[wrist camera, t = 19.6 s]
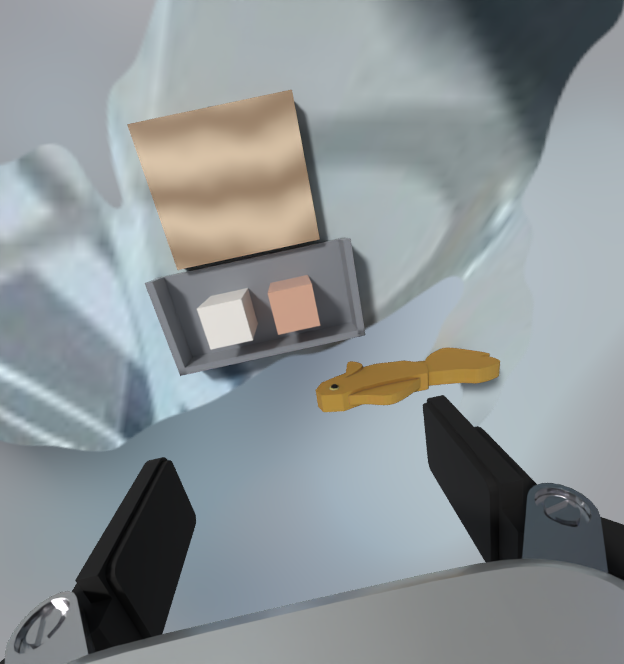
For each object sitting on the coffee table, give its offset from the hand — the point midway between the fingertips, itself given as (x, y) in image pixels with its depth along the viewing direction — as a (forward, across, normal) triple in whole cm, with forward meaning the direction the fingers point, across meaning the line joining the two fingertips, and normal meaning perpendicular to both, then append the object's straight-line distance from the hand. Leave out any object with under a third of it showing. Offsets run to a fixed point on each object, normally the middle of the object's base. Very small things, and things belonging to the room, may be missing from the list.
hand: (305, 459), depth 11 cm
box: (+28, +4, 0) cm, 29 cm away
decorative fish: (+29, -12, +12) cm, 33 cm away
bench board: (+28, +4, -13) cm, 31 cm away
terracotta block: (+28, 0, 0) cm, 28 cm away
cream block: (+28, +7, 0) cm, 28 cm away
